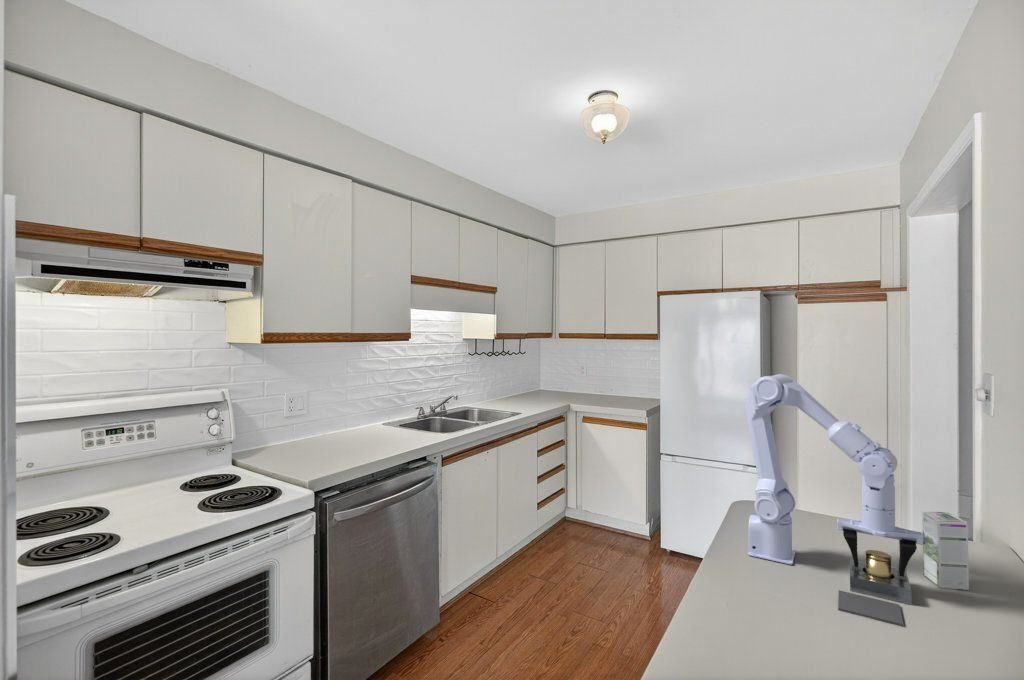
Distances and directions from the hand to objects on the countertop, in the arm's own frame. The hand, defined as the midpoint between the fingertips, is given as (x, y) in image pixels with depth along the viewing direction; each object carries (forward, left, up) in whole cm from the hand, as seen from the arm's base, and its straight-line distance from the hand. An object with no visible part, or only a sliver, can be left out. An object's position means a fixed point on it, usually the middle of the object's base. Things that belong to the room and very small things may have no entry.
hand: (878, 569), depth 104 cm
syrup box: (+12, +10, -4) cm, 16 cm away
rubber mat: (-2, -11, -4) cm, 12 cm away
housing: (0, 0, -4) cm, 4 cm away
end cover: (0, 0, -4) cm, 4 cm away
